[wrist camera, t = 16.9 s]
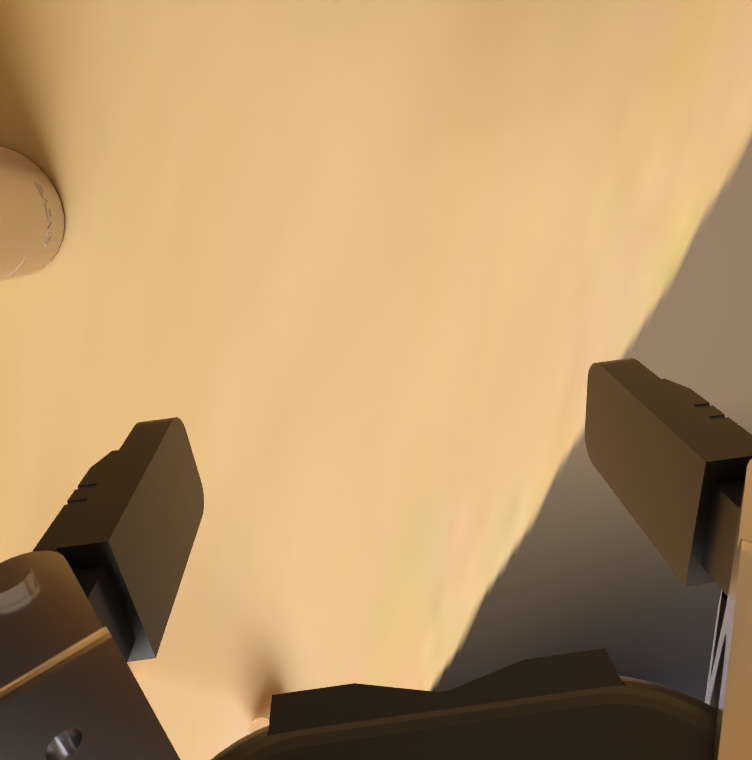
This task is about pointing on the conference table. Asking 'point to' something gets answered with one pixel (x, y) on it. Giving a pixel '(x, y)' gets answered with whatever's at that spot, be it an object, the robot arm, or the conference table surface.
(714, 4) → the conference table surface
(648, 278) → the conference table surface
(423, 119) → the conference table surface
